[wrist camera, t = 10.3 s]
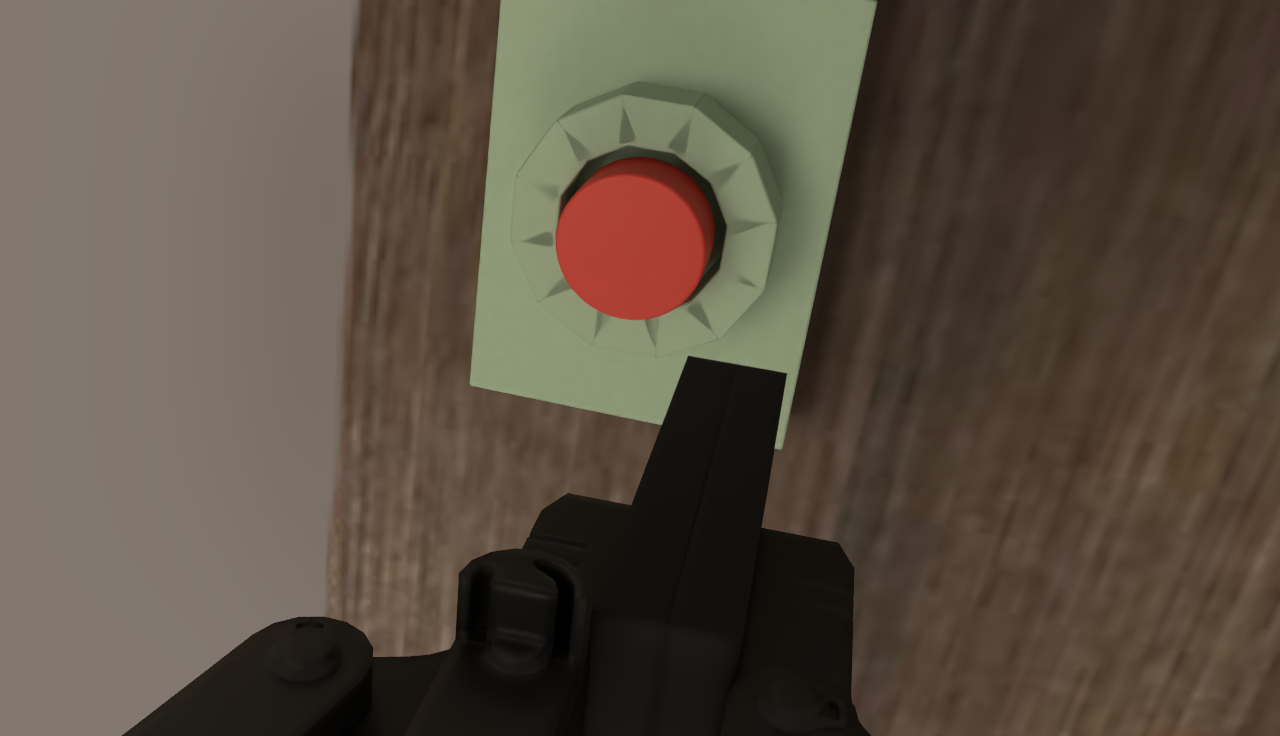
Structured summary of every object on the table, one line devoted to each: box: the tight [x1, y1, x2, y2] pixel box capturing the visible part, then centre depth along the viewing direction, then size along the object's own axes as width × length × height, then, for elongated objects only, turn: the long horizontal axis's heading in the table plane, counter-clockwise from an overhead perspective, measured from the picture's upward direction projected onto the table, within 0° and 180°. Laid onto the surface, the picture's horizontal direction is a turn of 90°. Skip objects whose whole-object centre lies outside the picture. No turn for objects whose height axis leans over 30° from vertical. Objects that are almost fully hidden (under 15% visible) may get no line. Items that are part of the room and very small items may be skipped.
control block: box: [470, 0, 877, 450], centre depth 30 cm, size 12×9×4 cm
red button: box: [556, 157, 715, 320], centre depth 28 cm, size 4×4×2 cm
